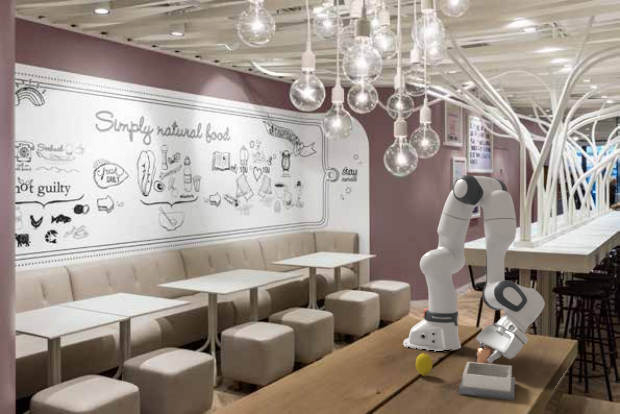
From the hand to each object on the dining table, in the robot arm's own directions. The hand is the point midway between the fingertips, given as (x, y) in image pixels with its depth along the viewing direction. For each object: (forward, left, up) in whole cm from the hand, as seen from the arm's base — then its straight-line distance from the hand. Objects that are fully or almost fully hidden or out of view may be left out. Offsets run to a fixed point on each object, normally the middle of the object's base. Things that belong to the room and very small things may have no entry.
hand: (483, 358), depth 210 cm
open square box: (+3, -18, -4) cm, 18 cm away
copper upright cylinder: (+1, 0, -4) cm, 4 cm away
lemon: (-18, -12, -5) cm, 22 cm away
